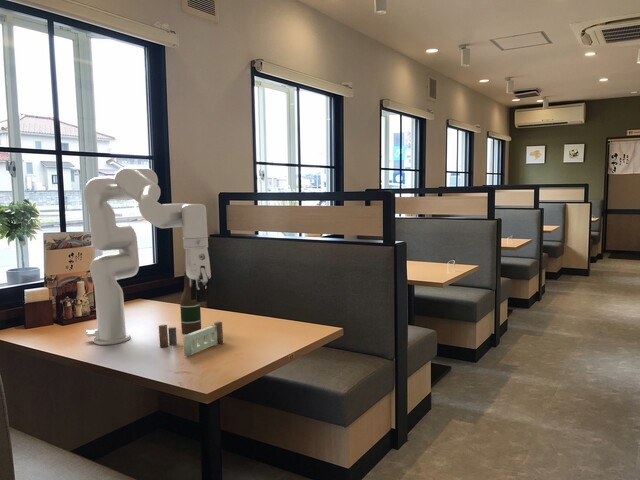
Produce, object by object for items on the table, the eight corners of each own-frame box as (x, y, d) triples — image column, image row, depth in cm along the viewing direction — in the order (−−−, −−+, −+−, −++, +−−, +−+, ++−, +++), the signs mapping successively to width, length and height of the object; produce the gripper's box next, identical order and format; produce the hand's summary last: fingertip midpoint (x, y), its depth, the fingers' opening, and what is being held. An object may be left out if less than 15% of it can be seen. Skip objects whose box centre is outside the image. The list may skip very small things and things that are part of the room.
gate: (188, 356, 163) (187, 336, 162) (182, 355, 164) (181, 336, 163) (218, 343, 175) (217, 325, 175) (212, 343, 176) (211, 325, 176)
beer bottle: (196, 335, 189) (193, 272, 186) (177, 334, 190) (174, 272, 188) (205, 329, 196) (202, 268, 194) (187, 329, 198) (183, 268, 195)
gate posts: (159, 348, 174) (157, 326, 173) (161, 344, 178) (160, 323, 177) (222, 344, 176) (221, 323, 176) (223, 340, 180) (222, 320, 180)
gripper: (217, 244, 153) (220, 303, 155) (197, 240, 167) (200, 294, 169) (193, 246, 149) (196, 306, 150) (175, 242, 163) (178, 297, 164)
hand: (198, 299), depth 159 cm, fingers open, 4 cm apart
